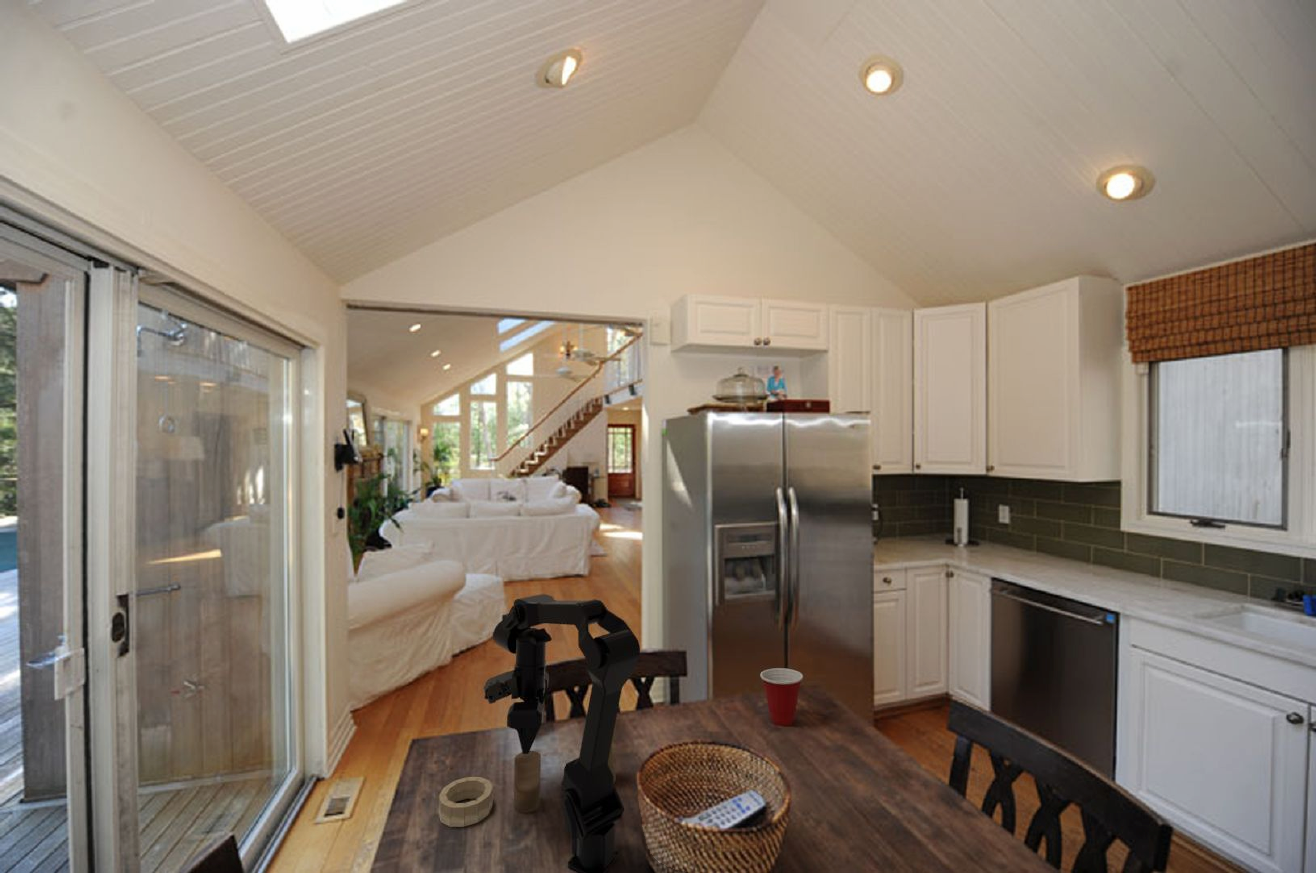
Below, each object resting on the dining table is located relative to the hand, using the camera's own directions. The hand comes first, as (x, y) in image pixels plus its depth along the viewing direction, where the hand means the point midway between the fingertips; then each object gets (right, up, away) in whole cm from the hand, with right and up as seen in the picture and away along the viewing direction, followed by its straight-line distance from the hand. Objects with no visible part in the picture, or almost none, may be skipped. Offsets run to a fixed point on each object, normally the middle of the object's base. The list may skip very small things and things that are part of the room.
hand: (528, 740), depth 108 cm
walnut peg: (0, -12, -1) cm, 12 cm away
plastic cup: (+57, -14, +34) cm, 68 cm away
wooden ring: (-11, -12, -3) cm, 17 cm away
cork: (+14, -13, +8) cm, 20 cm away
